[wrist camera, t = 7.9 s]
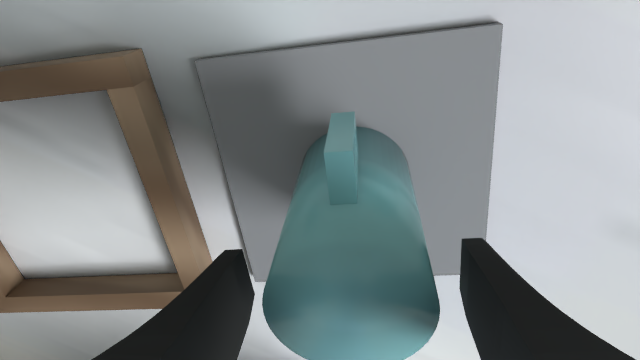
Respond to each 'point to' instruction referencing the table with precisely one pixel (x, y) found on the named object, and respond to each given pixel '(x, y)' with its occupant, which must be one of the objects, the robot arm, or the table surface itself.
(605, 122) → the table surface
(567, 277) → the table surface
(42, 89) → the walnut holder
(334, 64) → the gray mat
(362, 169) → the teal jug
